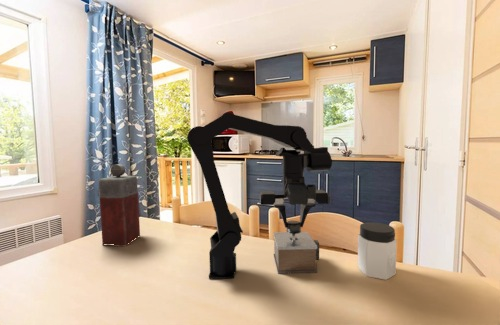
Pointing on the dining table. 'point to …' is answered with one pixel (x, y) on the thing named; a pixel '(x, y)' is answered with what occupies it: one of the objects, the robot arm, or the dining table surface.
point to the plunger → (293, 228)
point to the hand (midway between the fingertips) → (293, 227)
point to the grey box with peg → (295, 253)
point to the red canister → (119, 207)
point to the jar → (377, 250)
